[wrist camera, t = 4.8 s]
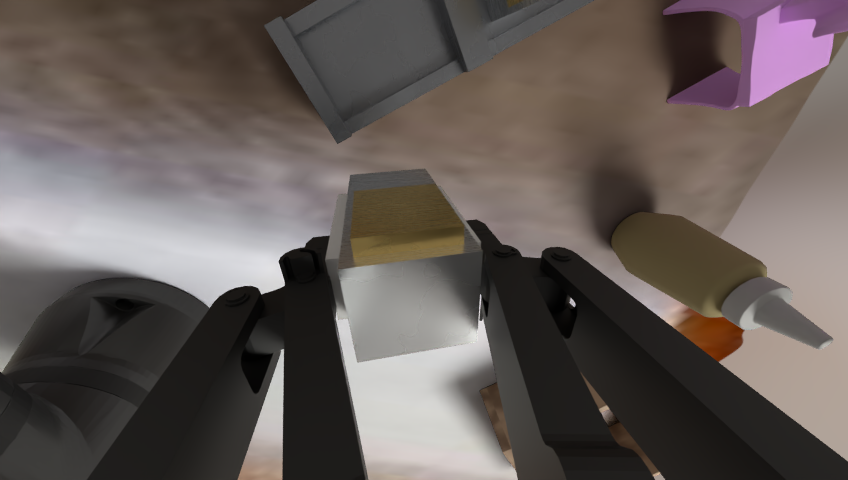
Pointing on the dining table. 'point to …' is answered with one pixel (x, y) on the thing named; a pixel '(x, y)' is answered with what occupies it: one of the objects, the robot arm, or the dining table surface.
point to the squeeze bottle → (709, 275)
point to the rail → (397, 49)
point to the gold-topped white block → (406, 267)
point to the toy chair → (766, 47)
